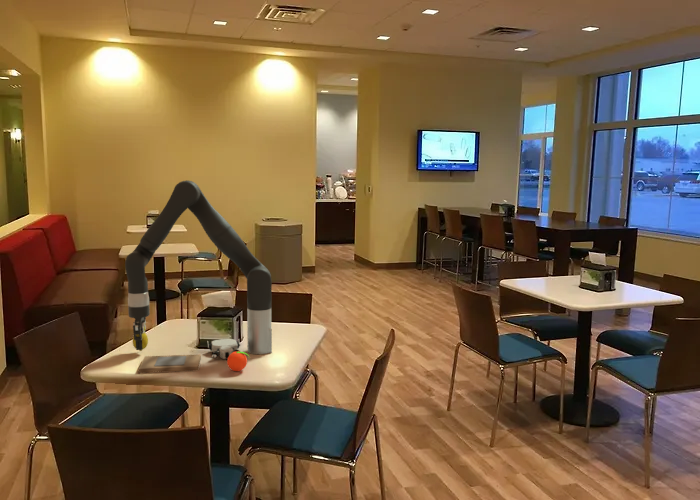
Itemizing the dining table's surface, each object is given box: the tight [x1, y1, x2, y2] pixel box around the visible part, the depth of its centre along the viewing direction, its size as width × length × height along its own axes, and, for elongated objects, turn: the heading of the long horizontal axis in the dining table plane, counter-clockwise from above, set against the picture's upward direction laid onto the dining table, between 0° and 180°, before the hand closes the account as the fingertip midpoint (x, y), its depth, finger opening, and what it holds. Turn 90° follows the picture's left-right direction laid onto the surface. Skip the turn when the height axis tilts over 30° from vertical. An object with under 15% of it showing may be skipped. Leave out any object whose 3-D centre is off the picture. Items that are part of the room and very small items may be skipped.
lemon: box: [132, 332, 149, 352], centre depth 226 cm, size 6×6×8 cm
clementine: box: [226, 350, 251, 372], centre depth 209 cm, size 8×7×7 cm
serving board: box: [138, 353, 202, 374], centre depth 214 cm, size 20×14×2 cm
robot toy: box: [207, 338, 241, 360], centre depth 227 cm, size 12×4×15 cm
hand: (140, 347), depth 226 cm, fingers closed on lemon, 5 cm apart
